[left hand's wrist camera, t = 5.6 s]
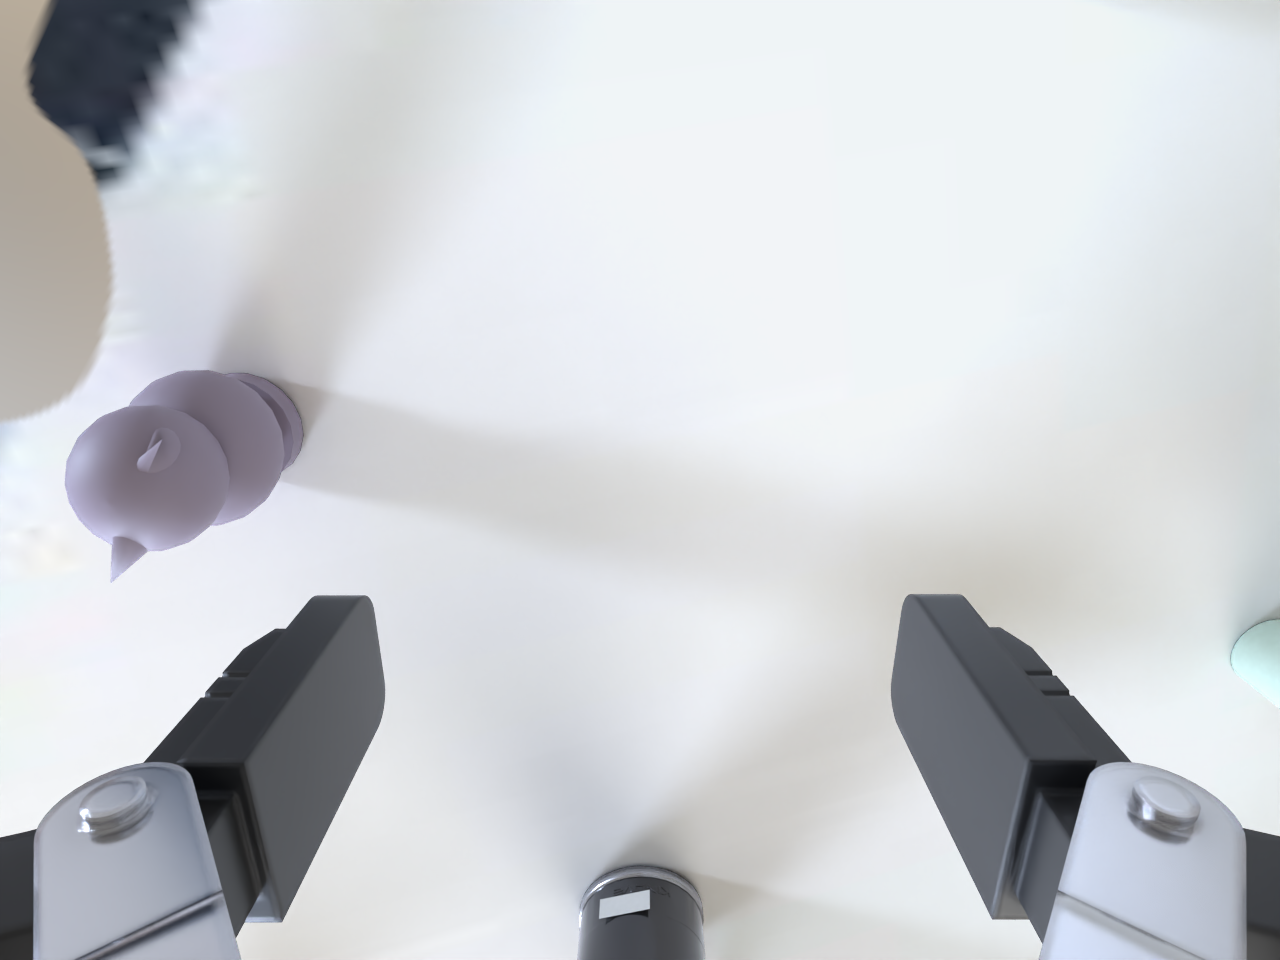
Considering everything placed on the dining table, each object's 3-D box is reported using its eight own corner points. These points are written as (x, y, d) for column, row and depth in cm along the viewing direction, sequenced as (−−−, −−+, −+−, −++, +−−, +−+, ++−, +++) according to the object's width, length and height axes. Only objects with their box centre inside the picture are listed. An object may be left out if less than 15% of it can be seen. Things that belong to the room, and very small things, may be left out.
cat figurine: (201, 327, 41) (38, 375, 30) (336, 392, 43) (228, 461, 31) (161, 455, 44) (-3, 543, 33) (288, 512, 45) (173, 616, 34)
